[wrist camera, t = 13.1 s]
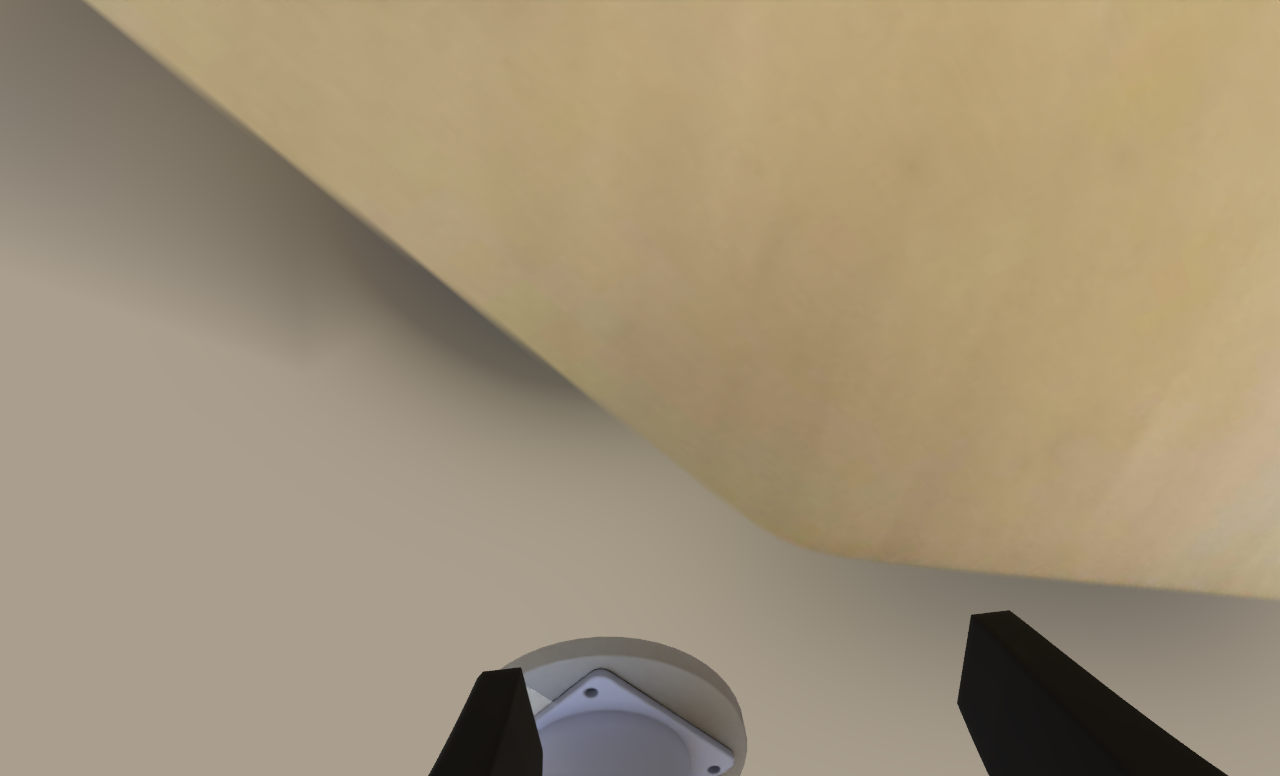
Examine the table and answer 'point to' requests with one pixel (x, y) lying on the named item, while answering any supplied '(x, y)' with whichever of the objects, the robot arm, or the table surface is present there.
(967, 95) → the table surface
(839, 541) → the table surface
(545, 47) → the table surface
